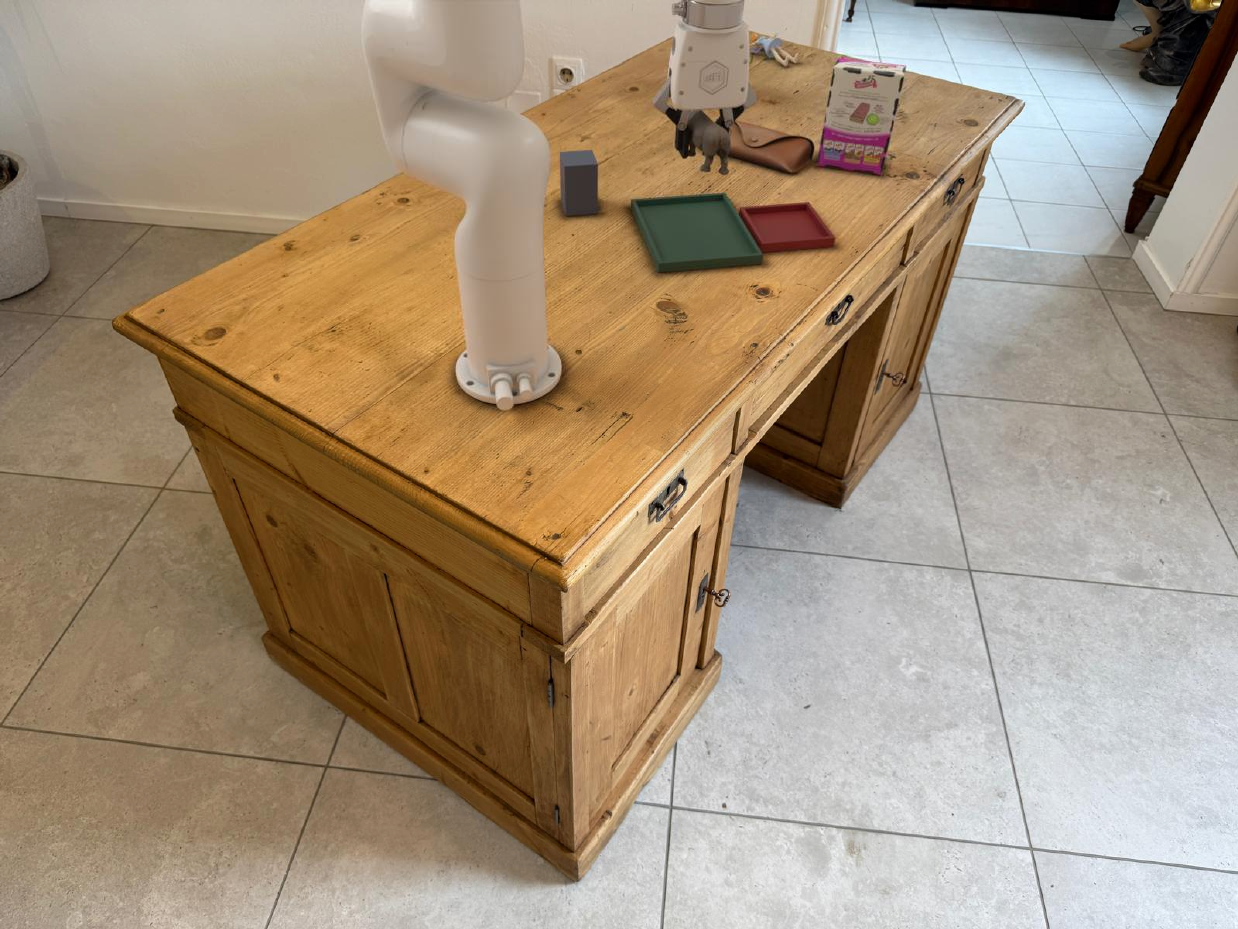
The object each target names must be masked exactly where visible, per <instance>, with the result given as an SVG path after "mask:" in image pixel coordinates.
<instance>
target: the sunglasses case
mask: <svg viewBox="0 0 1238 929" xmlns="http://www.w3.org/2000/svg"><path fill="white" fill-rule="evenodd" d="M729 136H730V141H731V145H730V150H729V154H728V157H731V158H734V159H738V160H742V161H744V162H748V163H751V164H755V165H758V166H761V167H764V168H768V169H773V170H777V171H781V172H787V173H791V174H793V173H794V174H795V173H798V172H799V171H802V169H804V168H805V167H807V166H808V165H809V164H810V163H811V162H812V159H813V156H814V153H815V143H814V141H813V140H812V139H811V138H809V137H806V136H802V135H796V134H795V135H794V134H789V133H786V132H782V131H780V130H777V129H773V128H769V127H765V126H762V125H757V124H754V123H750V122H746V121H740V120H737V119H736V120H735V121H734V123H733V125H732V126H731V127H730V129H729Z"/></svg>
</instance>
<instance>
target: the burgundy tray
mask: <svg viewBox="0 0 1238 929" xmlns="http://www.w3.org/2000/svg"><path fill="white" fill-rule="evenodd" d="M738 214H739V216H740V217H741V219H742V221H743V222H744V224H745V226H746V227H747V229H748V231H749V232H750V234H751V236H752V237H753V239H754V240H755V242H756V244H757V245H758V247H759V249H760V250H761V252H762V254H764V253H773V252H775V253H776V252H785V251H799V250H800V251H801V250H811V249H822V248H833V247H834V246H835V240H836V237H835V235H834V233H833V232H832V231H831V230H830V229H829V227H828V226H827V225H826V223H825V221H823V219H822V218H821V216H820V214H818V212H817V211H816V210H815V208H814V207H813V206H812V205H811V203H810V202H809V201H805V202H792V203H791V202H790V203H778V204H763V205H752V206H740V207H739V210H738Z"/></svg>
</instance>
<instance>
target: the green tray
mask: <svg viewBox="0 0 1238 929" xmlns="http://www.w3.org/2000/svg"><path fill="white" fill-rule="evenodd" d="M630 210H631V212H632V214H633V217H634V219H635V221H636V224H637V226H638V227H639V230H640V233H641V235H642V237H643V240H644V243H645V244H646V247H647V249H648V252H649V254H650V256H651V259H652V261H653V263H654V266H655V268H656V270H657V273H671V272H682V271H683V272H684V271H692V270H693V271H694V270H705V269H718V268H729V267H743V266H752V265H762V264H763V258H764V253H762V252H761V250H760V249H759V247H758V245H757V244H756V242H755V240H754V239H753V237H752V236H751V234H750V232H749V231H748V229H747V227H746V226H745V224H744V222H743V221H742V219H741V217H740V216H739V211H737V209H736V207H735V206H734V204H733V202H732V201H731V199H730V198H729V196H728V194H727V192H714V193H700V194H687V195H686V194H685V195H672V196H670V195H669V196H658V197H643V198H642V197H641V198H632V199H631V198H630Z"/></svg>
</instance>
